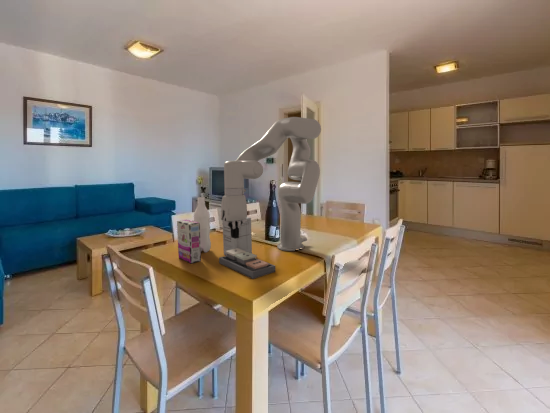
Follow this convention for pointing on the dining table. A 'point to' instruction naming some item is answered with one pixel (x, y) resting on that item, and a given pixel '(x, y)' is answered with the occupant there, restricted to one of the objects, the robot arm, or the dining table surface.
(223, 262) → the gray rectangular tray
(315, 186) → the robot arm
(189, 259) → the candy bar box
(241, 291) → the dining table surface
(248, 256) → the tile
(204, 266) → the dining table surface
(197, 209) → the water bottle
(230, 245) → the supplement box
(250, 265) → the tile
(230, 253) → the tile
